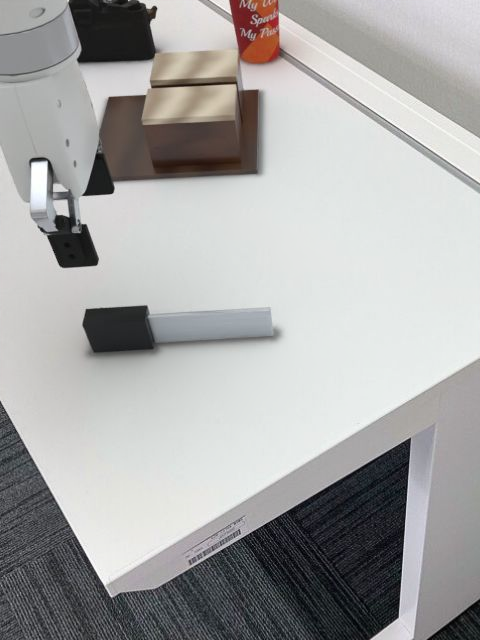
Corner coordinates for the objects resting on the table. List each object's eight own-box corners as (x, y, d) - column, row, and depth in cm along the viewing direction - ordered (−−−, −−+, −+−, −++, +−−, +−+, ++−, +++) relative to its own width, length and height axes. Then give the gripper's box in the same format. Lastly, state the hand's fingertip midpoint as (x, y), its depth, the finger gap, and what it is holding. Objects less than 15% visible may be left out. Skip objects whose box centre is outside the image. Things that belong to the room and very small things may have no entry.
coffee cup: (250, 75, 112) (238, -31, 101) (222, 53, 117) (207, -51, 105) (298, 57, 115) (291, -47, 104) (269, 37, 120) (259, -66, 109)
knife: (94, 354, 77) (81, 324, 73) (97, 338, 78) (85, 308, 75) (273, 344, 77) (269, 313, 74) (273, 328, 79) (269, 297, 75)
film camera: (155, 22, 124) (141, -42, 116) (169, 58, 116) (156, -9, 108) (42, 42, 120) (20, -23, 112) (49, 80, 112) (27, 13, 105)
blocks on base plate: (89, 184, 95) (71, 129, 89) (110, 102, 108) (95, 50, 102) (257, 175, 96) (250, 120, 90) (259, 95, 108) (253, 42, 103)
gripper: (-4, -13, 59) (63, 172, 72) (-69, 105, 48) (25, 299, 61) (93, -19, 60) (143, 167, 72) (51, 97, 48) (119, 293, 61)
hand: (89, 227), depth 67 cm, fingers open, 9 cm apart
